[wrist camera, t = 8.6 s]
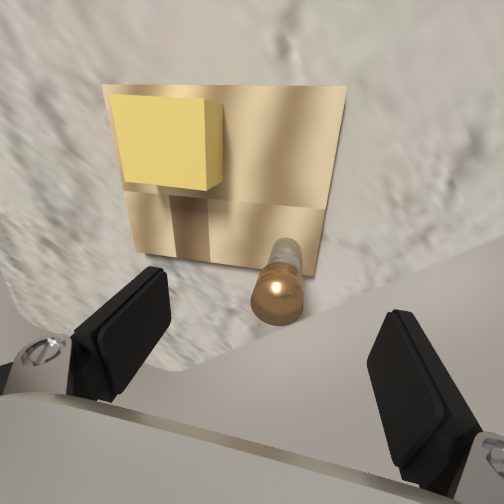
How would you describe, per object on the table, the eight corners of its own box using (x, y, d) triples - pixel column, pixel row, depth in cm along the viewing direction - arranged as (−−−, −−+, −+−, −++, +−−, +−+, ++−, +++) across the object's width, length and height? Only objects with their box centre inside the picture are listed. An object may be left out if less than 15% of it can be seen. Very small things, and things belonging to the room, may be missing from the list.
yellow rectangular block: (223, 104, 19) (204, 98, 16) (222, 182, 22) (206, 192, 19) (143, 100, 20) (109, 93, 17) (153, 175, 23) (125, 183, 20)
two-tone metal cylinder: (304, 234, 23) (303, 283, 15) (303, 266, 24) (302, 327, 16) (268, 234, 23) (248, 281, 15) (269, 266, 25) (252, 324, 17)
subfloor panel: (345, 88, 18) (347, 86, 17) (313, 270, 25) (313, 276, 24) (111, 86, 22) (101, 84, 20) (142, 247, 29) (136, 251, 28)
